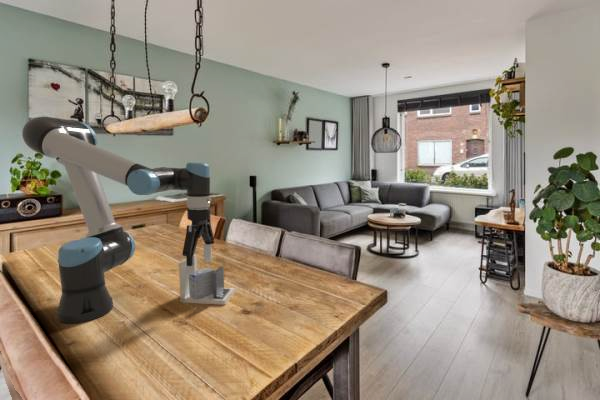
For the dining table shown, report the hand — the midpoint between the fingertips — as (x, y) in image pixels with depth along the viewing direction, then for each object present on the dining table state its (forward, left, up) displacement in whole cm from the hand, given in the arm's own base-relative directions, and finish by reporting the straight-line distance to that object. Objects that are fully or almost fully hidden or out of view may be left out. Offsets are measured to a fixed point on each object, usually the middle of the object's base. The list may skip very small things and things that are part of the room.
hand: (199, 267), depth 113 cm
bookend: (+7, +1, -10) cm, 12 cm away
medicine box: (0, 0, -10) cm, 10 cm away
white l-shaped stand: (+2, +2, -12) cm, 12 cm away
